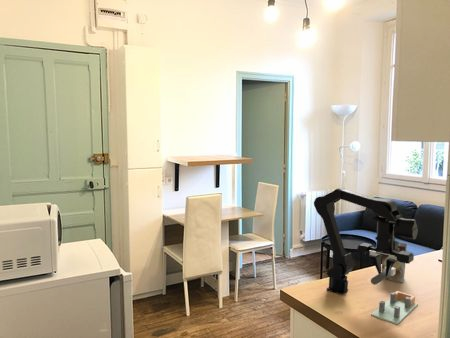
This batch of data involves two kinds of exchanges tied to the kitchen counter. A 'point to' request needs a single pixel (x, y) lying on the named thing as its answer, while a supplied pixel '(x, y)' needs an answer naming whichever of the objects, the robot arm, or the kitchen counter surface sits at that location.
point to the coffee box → (396, 265)
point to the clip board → (395, 307)
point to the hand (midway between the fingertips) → (383, 275)
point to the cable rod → (382, 276)
